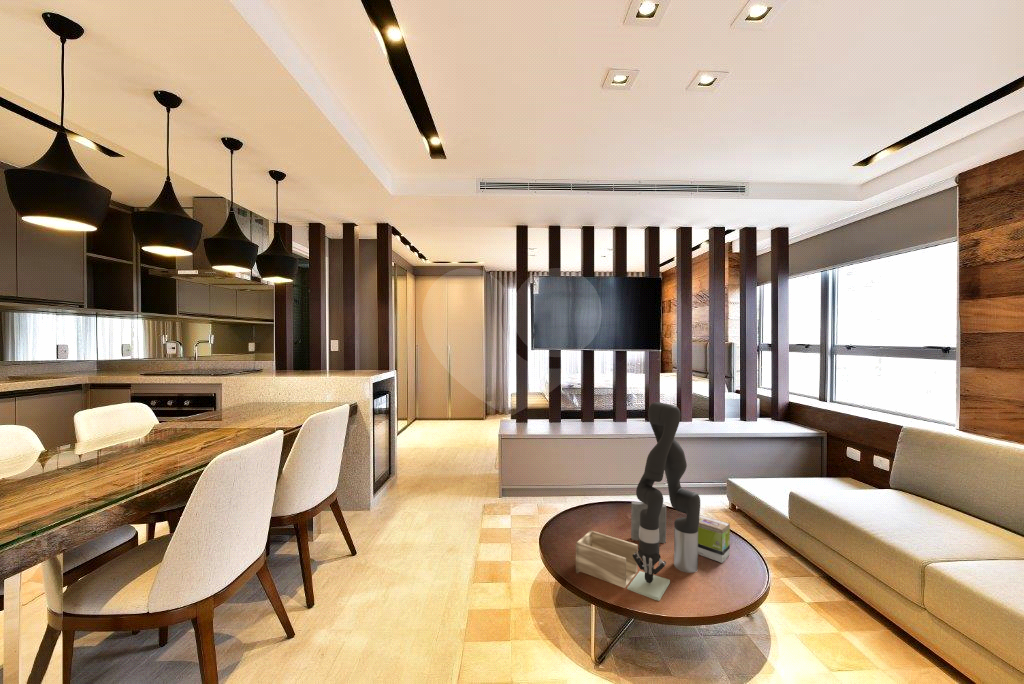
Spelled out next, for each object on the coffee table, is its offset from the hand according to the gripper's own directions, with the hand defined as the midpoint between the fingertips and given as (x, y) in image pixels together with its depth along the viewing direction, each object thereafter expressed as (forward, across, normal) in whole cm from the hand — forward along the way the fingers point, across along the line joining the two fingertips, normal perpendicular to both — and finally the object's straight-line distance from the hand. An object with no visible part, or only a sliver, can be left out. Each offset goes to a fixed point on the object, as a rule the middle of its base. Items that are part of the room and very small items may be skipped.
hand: (648, 581), depth 161 cm
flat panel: (+2, +6, 0) cm, 6 cm away
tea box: (+3, -13, -43) cm, 45 cm away
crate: (+3, +17, 0) cm, 18 cm away
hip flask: (+3, +13, -39) cm, 41 cm away
